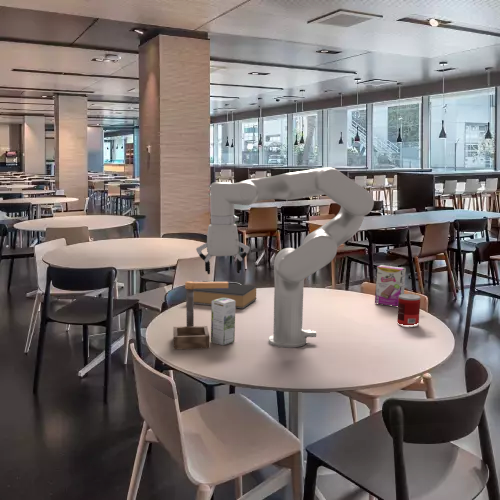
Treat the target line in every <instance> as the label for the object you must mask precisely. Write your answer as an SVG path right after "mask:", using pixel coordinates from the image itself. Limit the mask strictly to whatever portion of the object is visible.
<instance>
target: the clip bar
mask: <svg viewBox="0 0 500 500" xmlns="http://www.w3.org/2000/svg"><path fill="white" fill-rule="evenodd" d="M184 283H185V284H184V285H185V286H184V289H194V288H228V283H229V281H208V282H203V281H185V282H184Z"/></svg>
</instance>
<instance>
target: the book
mask: <svg viewBox="0 0 500 500" xmlns="http://www.w3.org/2000/svg"><path fill="white" fill-rule="evenodd" d="M202 282H209V281H207V280H206V281H205V280H204V281H202ZM220 298H229V299H232V300H235V301H236V302H235V309H240V310H241V309H245V308H247V306H249V305H251V303H253V302H254V301H256V300H257V285H250V284H242V283H241V284H239V283H237V284H236V283H229V282H228V288H194V304H196V305H204V306H206V305H207V306H212V300H216V299H220Z"/></svg>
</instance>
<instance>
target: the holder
mask: <svg viewBox="0 0 500 500" xmlns="http://www.w3.org/2000/svg"><path fill="white" fill-rule="evenodd" d="M185 293H186V326H173V328H172V329H173V330H172V332H173V335H172V336H173V350H195V349H198V350H199V349H210V344H211V343H210V342H211V335H210V332H209V328H208V325H199V326H198V325H196V326H195V324H194V323H195V322H194V309H195V308H194V289H186V291H185Z"/></svg>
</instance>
